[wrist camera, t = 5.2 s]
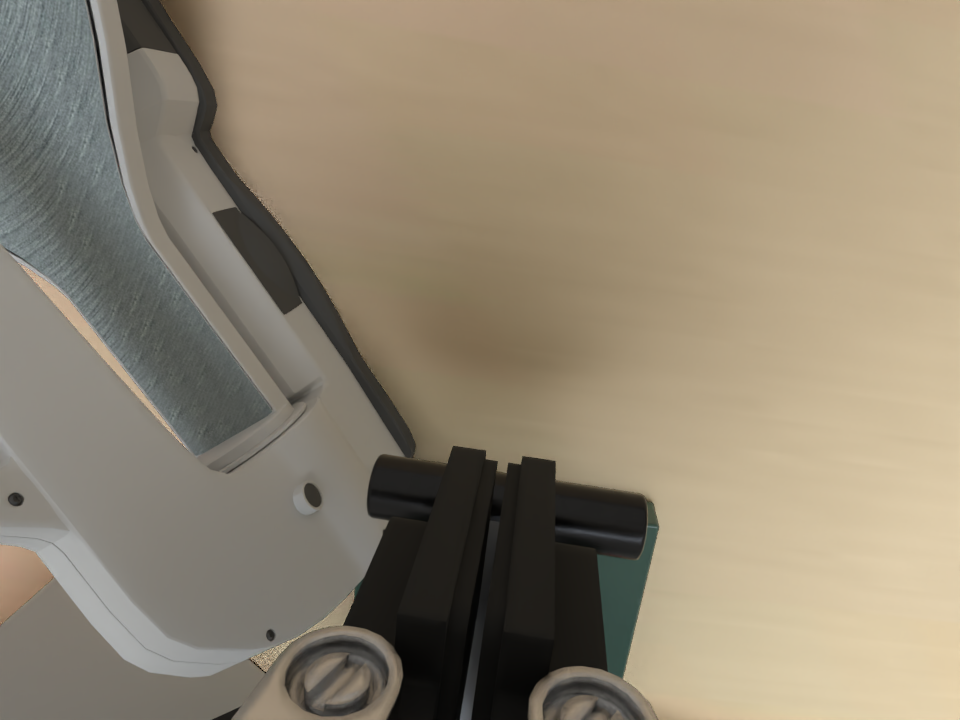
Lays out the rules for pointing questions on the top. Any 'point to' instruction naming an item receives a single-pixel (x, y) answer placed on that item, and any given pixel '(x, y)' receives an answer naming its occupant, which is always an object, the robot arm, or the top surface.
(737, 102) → the top surface
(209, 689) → the box
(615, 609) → the green upright stand
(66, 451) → the scroll saw
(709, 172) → the top surface
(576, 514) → the press lever
